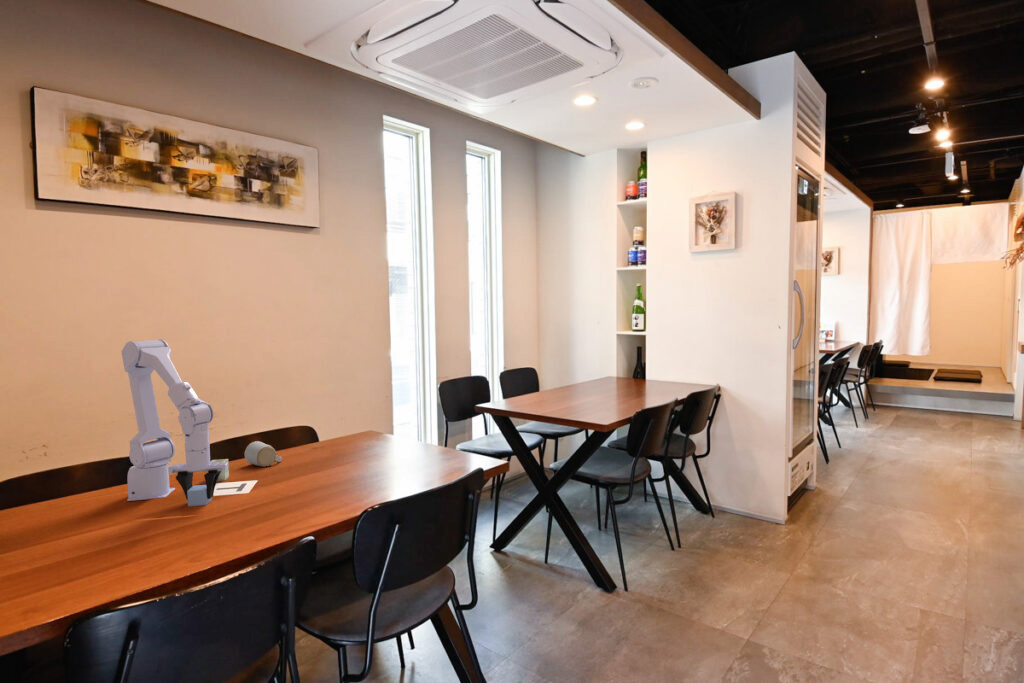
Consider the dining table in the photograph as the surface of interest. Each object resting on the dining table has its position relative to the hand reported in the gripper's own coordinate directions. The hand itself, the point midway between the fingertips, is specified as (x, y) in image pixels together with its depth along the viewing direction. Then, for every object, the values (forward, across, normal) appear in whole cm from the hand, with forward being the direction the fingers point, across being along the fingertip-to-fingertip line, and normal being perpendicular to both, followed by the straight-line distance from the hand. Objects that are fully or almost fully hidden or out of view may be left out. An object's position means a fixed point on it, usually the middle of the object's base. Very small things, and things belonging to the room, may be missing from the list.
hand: (200, 498), depth 151 cm
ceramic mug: (+2, -5, -38) cm, 38 cm away
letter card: (+2, -4, -12) cm, 12 cm away
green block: (+2, +3, -21) cm, 21 cm away
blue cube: (+2, 0, 0) cm, 2 cm away
